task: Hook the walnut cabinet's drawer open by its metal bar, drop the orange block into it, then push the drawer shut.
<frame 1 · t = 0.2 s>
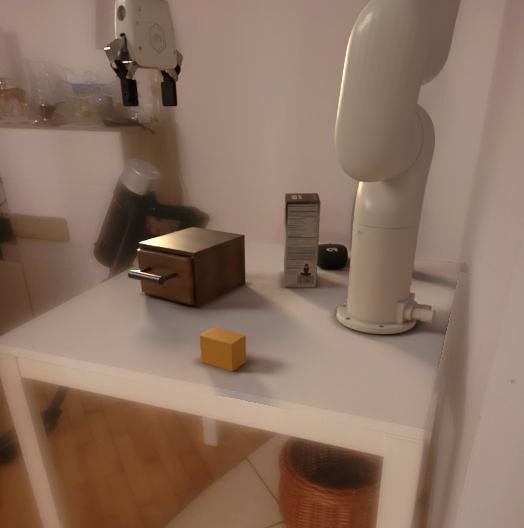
hand: (151, 106, 87), 31 cm above the table, tool pointing down, fingers open, 9 cm apart
computer mouse: (330, 263, 108), on the table
coffee box: (299, 281, 97), on the table
drawer: (180, 270, 87), point 5 cm above the table, slide at 0.0 cm
orange block: (223, 362, 66), on the table
cabinet: (196, 289, 93), on the table
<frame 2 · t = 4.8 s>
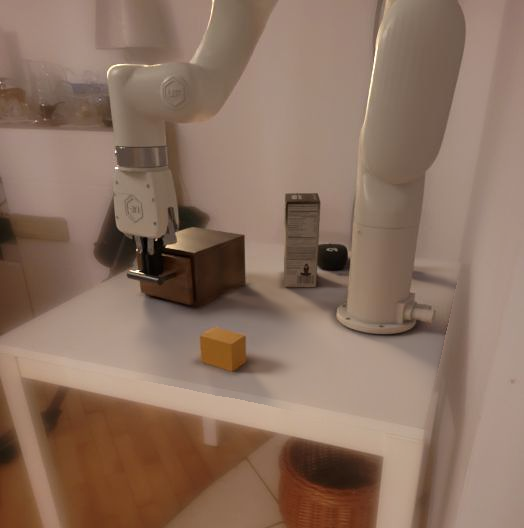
hand: (153, 275, 82), 6 cm above the table, tool pointing down, fingers closed
drawer: (179, 270, 87), point 5 cm above the table, slide at 0.2 cm, touching gripper
everything else where it was.
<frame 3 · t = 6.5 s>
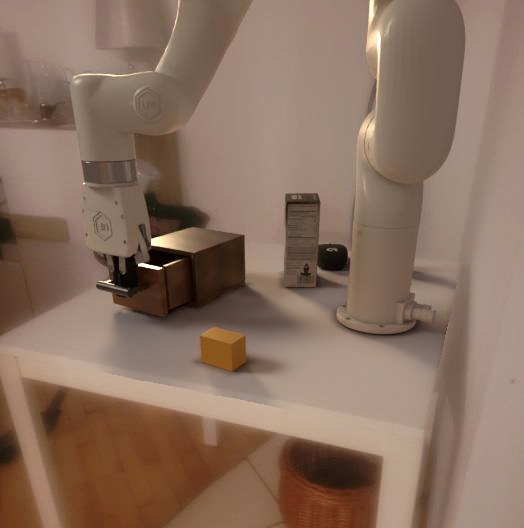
hand: (127, 294, 78), 4 cm above the table, tool pointing down, fingers closed
drawer: (153, 280, 82), point 5 cm above the table, slide at 6.7 cm, touching gripper
everything else where it was.
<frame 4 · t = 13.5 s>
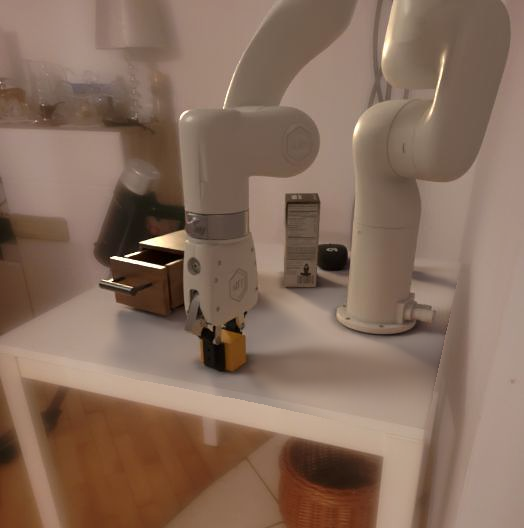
hand: (223, 360, 66), 0 cm above the table, tool pointing down, fingers closed on orange block, 3 cm apart
drawer: (156, 279, 83), point 5 cm above the table, slide at 6.1 cm
orange block: (223, 362, 66), on the table, touching gripper
everything else where it was.
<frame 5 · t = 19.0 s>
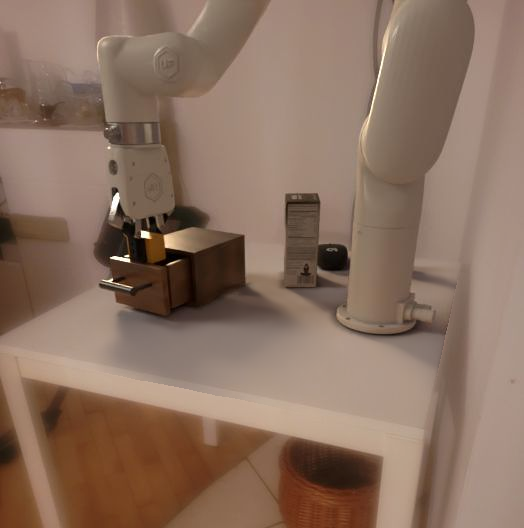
hand: (147, 257, 80), 9 cm above the table, tool pointing down, fingers closed on orange block, 3 cm apart
drawer: (156, 279, 83), point 5 cm above the table, slide at 6.1 cm, touching gripper
orange block: (147, 258, 80), point 9 cm above the table, touching gripper
everything else where it was.
when the fingers open (10 cm above the table, at t = 23.0 s): orange block drops 8 cm, resting on drawer.
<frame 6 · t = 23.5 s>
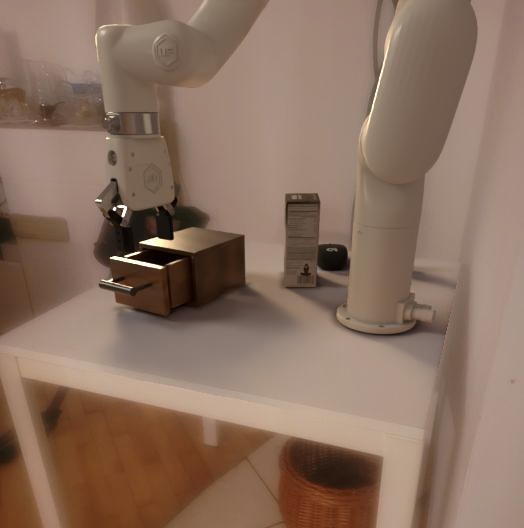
hand: (146, 244, 79), 11 cm above the table, tool pointing down, fingers open, 8 cm apart
drawer: (155, 279, 83), point 5 cm above the table, slide at 6.2 cm, touching orange block
orange block: (151, 297, 83), point 2 cm above the table, touching drawer
everything else where it was.
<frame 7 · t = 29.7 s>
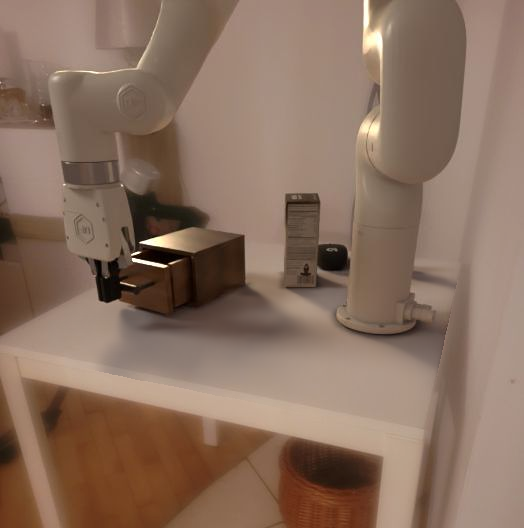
hand: (110, 299, 75), 4 cm above the table, tool pointing down, fingers closed
drawer: (159, 278, 83), point 5 cm above the table, slide at 5.4 cm, touching orange block, gripper
everything else where it was.
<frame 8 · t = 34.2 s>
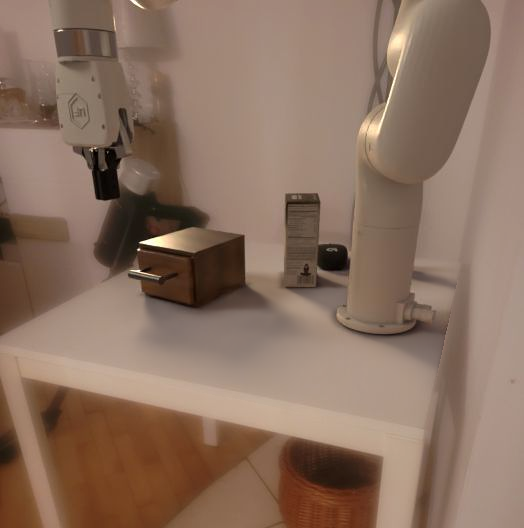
hand: (108, 198, 70), 19 cm above the table, tool pointing down, fingers closed
drawer: (180, 270, 87), point 5 cm above the table, slide at 0.0 cm, touching orange block
orange block: (176, 286, 88), point 2 cm above the table, touching drawer
everything else where it was.
at the end: drawer pulled out 6.7 cm at the most during the clip, back to where it started at the end; orange block inside the target area in the cabinet (5.4 cm from its centre), point 2.0 cm above the cabinet's base; drawer slide at 0.0 cm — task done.
